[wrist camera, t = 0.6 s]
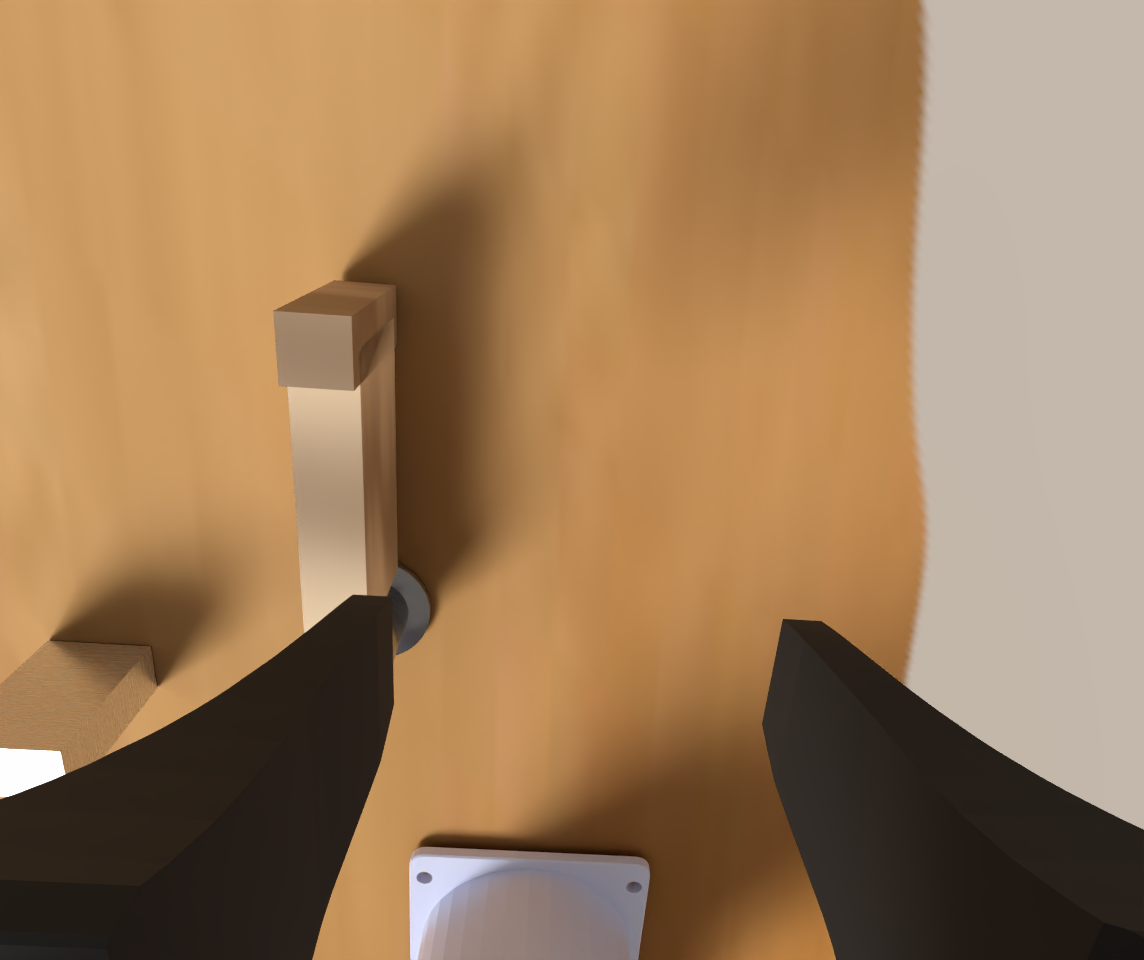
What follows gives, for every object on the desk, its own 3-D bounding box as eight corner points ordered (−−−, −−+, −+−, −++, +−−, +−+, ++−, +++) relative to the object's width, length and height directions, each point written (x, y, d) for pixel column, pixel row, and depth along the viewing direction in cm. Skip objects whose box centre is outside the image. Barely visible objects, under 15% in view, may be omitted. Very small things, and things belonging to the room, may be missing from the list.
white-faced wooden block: (157, 687, 24) (70, 799, 20) (56, 682, 24) (-52, 793, 20) (150, 646, 23) (59, 751, 19) (47, 640, 23) (-66, 745, 19)
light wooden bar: (400, 564, 22) (363, 653, 18) (346, 561, 22) (297, 649, 18) (396, 284, 19) (351, 316, 15) (334, 280, 19) (273, 311, 15)
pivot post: (431, 655, 23) (401, 760, 19) (323, 648, 23) (270, 754, 19) (431, 559, 22) (400, 651, 18) (317, 553, 22) (260, 643, 18)
